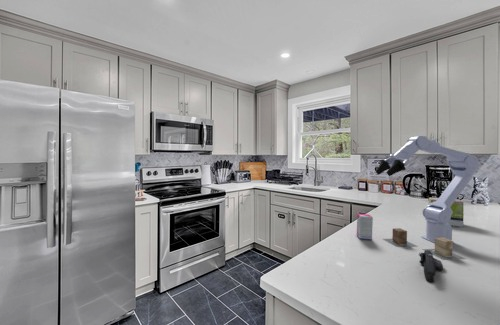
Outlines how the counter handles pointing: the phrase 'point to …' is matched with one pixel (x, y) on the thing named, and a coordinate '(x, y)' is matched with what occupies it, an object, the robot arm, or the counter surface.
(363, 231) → the supplement box
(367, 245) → the counter surface
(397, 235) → the walnut block
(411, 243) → the tile
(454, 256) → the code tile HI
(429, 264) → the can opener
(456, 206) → the tea box
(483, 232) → the counter surface
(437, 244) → the oak block
